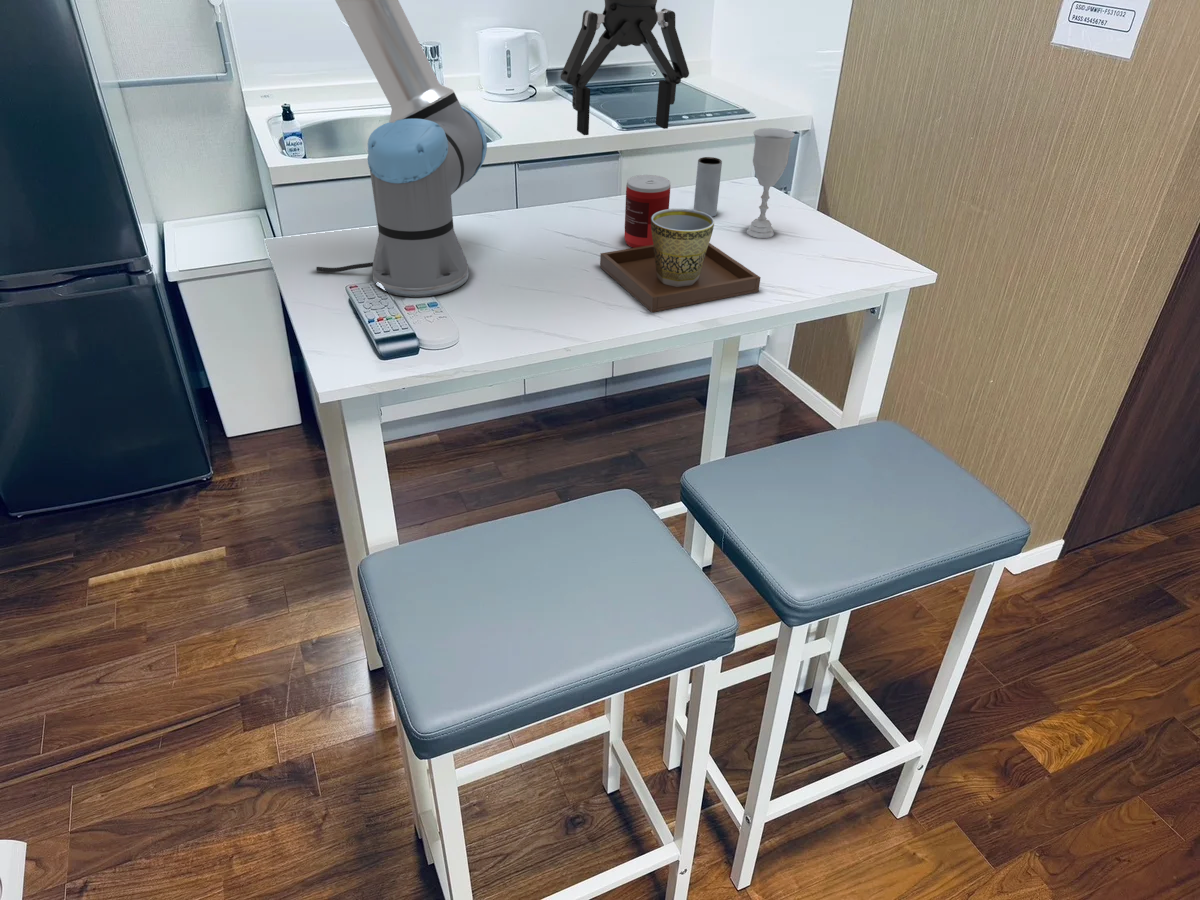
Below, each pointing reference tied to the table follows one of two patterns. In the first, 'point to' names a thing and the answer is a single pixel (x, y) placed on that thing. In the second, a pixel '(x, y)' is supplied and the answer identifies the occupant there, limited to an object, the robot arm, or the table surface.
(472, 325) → the table surface
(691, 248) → the ceramic cup
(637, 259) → the tray
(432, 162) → the robot arm
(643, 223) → the canned food
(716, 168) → the gray cylinder
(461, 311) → the table surface
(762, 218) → the chalice
